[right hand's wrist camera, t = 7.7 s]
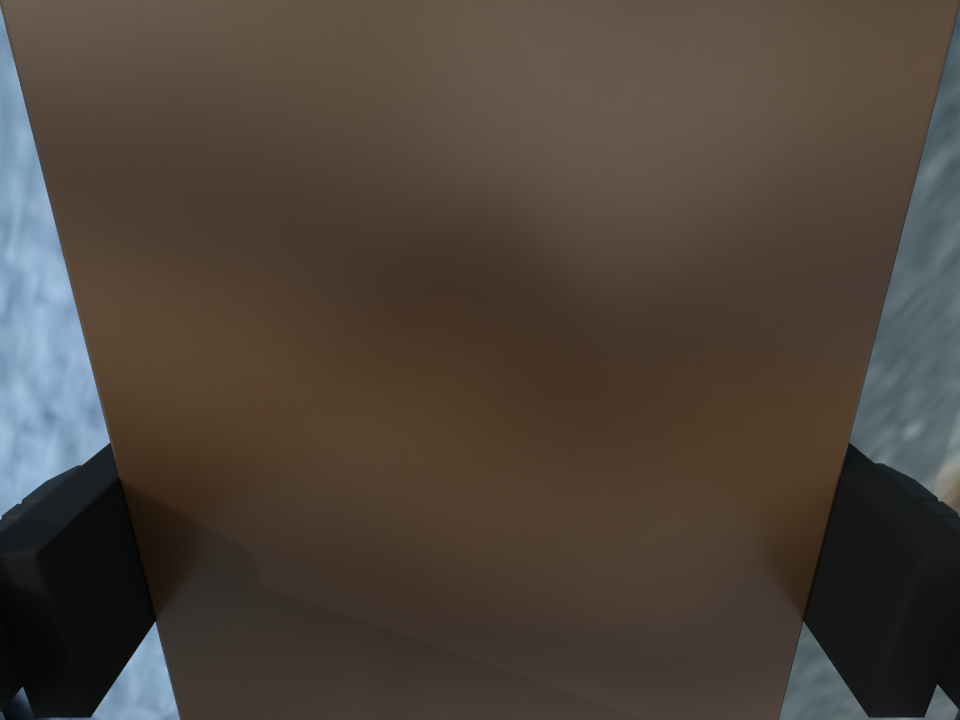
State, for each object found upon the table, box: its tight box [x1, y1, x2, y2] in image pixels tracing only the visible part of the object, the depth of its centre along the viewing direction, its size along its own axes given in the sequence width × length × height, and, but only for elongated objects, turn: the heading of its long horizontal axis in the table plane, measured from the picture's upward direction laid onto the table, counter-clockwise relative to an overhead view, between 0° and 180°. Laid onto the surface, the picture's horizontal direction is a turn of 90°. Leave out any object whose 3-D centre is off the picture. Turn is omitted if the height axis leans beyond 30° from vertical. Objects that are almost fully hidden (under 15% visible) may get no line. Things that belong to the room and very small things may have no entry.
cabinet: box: [0, 0, 960, 720], centre depth 11 cm, size 18×11×8 cm, turn 0°
